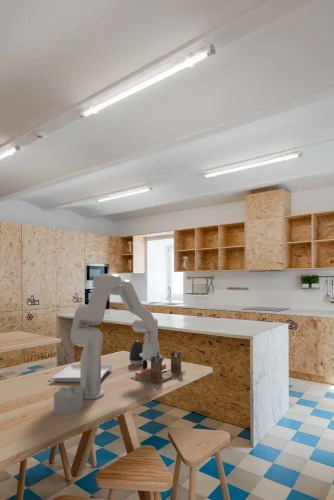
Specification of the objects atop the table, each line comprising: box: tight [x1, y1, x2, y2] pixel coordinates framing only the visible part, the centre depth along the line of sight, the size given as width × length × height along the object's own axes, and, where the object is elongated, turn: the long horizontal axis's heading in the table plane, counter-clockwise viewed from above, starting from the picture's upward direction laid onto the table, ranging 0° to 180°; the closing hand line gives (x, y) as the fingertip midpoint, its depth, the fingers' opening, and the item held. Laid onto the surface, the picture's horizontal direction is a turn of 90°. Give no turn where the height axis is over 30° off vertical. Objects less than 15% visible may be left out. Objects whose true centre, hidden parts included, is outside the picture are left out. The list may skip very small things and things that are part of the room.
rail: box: [134, 362, 167, 379], centre depth 195 cm, size 24×3×3 cm, turn 143°
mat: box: [130, 375, 151, 382], centre depth 195 cm, size 27×8×1 cm, turn 143°
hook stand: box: [146, 350, 186, 385], centre depth 189 cm, size 25×8×13 cm, turn 143°
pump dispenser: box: [128, 340, 145, 366], centre depth 217 cm, size 10×10×15 cm
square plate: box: [51, 364, 114, 383], centre depth 191 cm, size 27×27×4 cm
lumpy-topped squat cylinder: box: [53, 385, 84, 416], centre depth 145 cm, size 10×13×9 cm
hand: (151, 370), depth 195 cm, fingers open, 9 cm apart
